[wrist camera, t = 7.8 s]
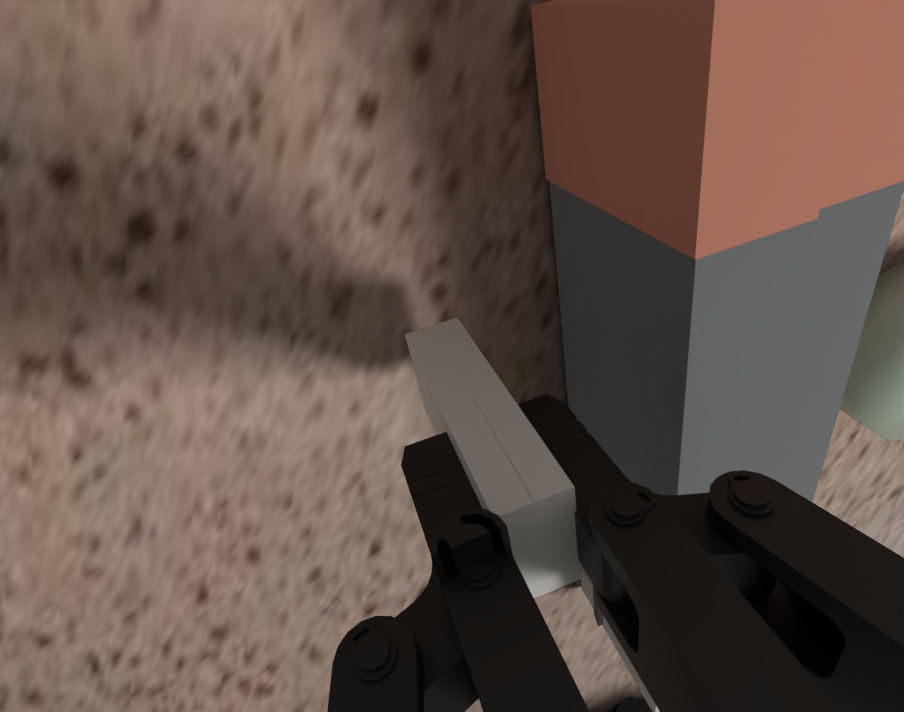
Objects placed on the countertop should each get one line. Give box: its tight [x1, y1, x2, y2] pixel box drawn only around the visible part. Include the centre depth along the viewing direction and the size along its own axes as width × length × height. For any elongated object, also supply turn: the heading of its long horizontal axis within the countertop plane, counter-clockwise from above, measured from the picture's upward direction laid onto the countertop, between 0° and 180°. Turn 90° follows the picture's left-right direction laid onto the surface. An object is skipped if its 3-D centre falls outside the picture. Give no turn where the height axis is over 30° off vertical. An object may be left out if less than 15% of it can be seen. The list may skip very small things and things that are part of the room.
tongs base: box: [581, 0, 904, 712], centre depth 17 cm, size 24×5×7 cm, turn 11°
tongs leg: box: [531, 0, 863, 495], centre depth 15 cm, size 18×3×6 cm, turn 11°
